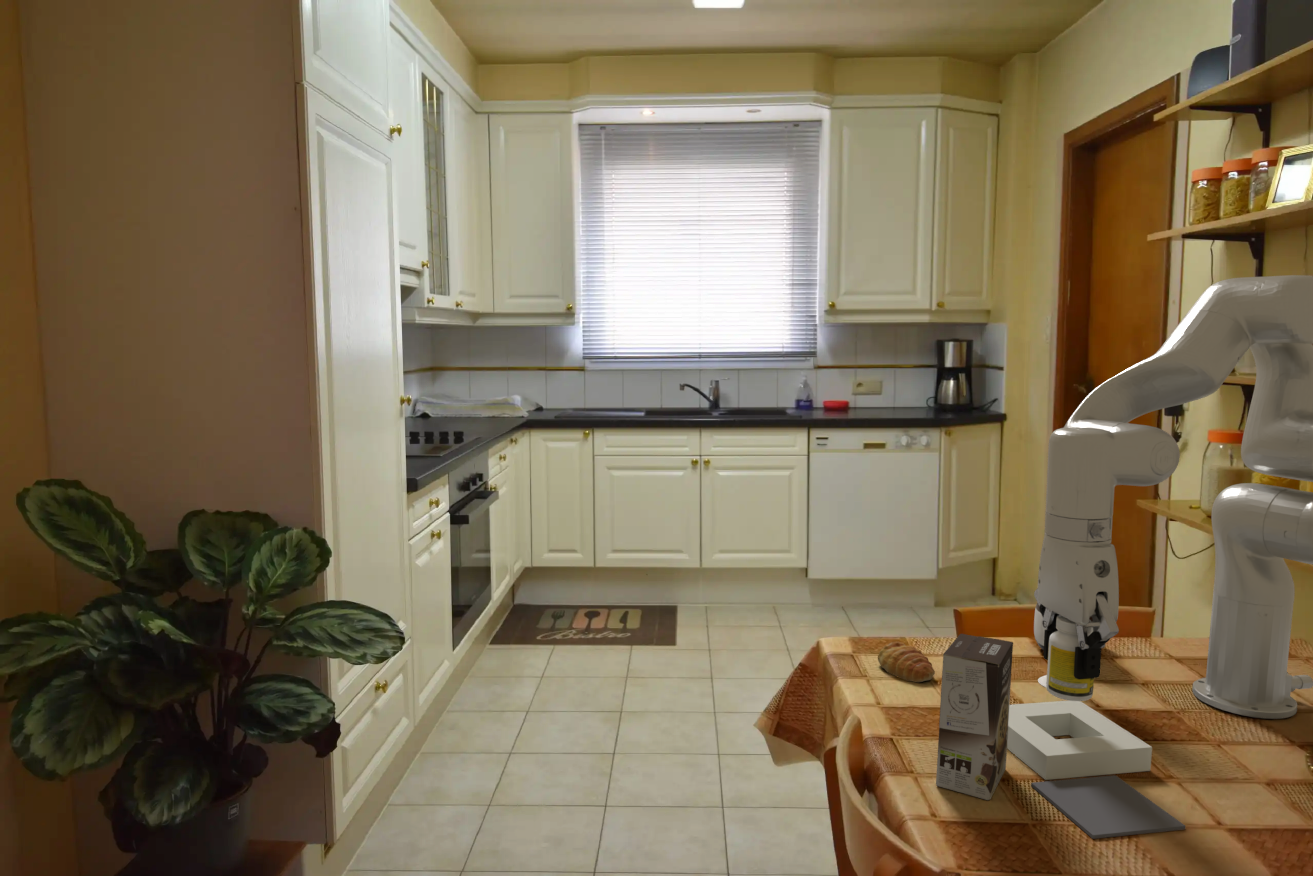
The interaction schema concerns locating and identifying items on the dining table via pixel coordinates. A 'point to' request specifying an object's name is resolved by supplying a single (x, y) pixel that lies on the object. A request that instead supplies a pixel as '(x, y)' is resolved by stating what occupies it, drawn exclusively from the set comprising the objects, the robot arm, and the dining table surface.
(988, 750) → the coffee box
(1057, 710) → the socket block
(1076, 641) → the supplement bottle
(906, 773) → the dining table surface
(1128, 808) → the mat
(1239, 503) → the robot arm
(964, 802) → the dining table surface
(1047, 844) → the dining table surface
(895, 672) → the pastry
